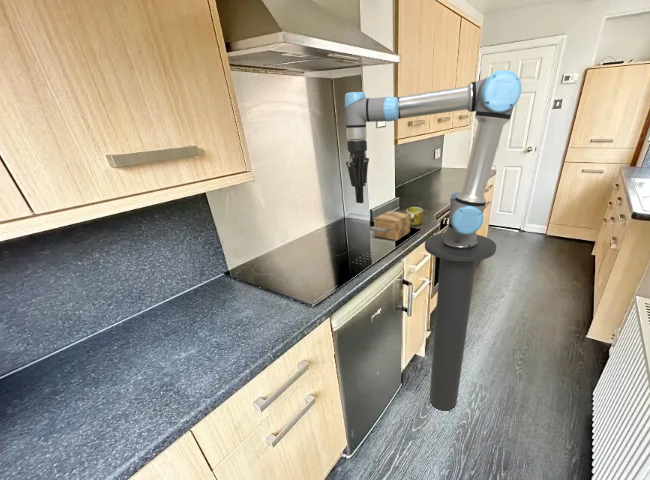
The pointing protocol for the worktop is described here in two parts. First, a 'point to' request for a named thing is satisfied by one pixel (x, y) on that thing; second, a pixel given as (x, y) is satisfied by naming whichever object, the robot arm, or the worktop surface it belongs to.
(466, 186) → the robot arm
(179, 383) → the worktop surface
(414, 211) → the mug
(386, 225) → the drawer
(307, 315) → the worktop surface
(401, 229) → the cabinet
